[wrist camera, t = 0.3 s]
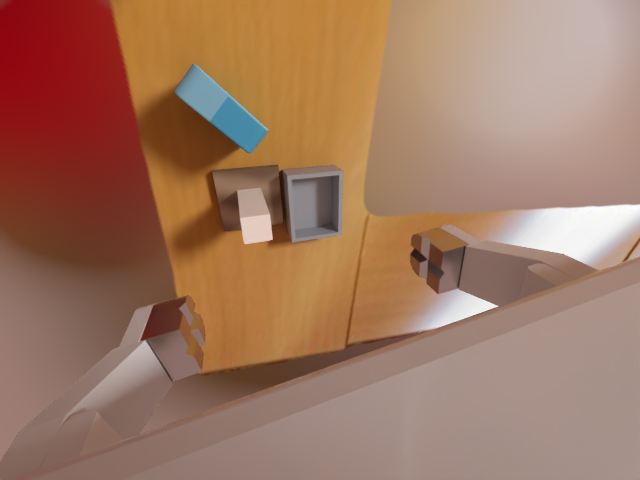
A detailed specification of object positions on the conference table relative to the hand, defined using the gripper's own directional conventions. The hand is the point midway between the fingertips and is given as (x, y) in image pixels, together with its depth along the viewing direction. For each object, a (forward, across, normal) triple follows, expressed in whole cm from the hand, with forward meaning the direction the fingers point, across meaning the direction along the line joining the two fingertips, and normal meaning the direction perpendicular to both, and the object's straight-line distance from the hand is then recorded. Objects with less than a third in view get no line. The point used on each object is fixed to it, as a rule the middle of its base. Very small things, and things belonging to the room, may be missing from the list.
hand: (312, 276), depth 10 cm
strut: (+45, +2, +12) cm, 46 cm away
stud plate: (+46, +2, +12) cm, 48 cm away
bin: (+46, -10, +15) cm, 50 cm away
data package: (+46, +2, -4) cm, 47 cm away
